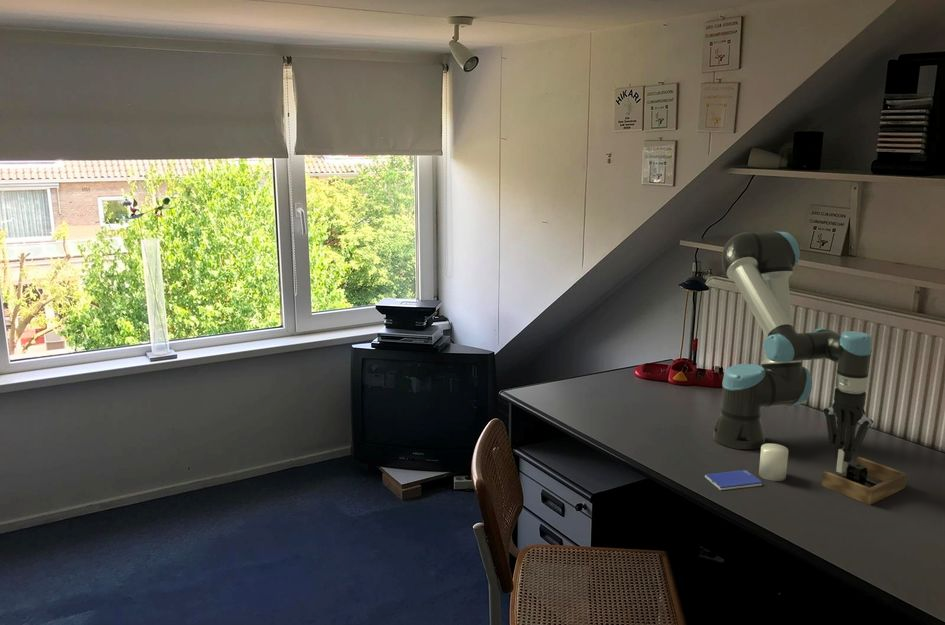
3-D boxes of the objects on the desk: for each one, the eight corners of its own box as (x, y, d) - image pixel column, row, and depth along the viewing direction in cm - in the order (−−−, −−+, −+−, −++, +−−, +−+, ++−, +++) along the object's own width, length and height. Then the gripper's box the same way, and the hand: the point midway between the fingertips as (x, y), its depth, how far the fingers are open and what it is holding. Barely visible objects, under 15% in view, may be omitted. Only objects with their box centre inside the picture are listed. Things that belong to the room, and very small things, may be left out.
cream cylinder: (753, 473, 209) (755, 447, 208) (768, 467, 213) (771, 441, 211) (775, 483, 204) (778, 455, 202) (791, 476, 208) (793, 449, 206)
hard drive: (745, 469, 210) (704, 473, 208) (762, 481, 202) (720, 486, 200) (744, 474, 211) (704, 478, 208) (761, 487, 203) (720, 492, 200)
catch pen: (821, 485, 202) (823, 472, 201) (857, 469, 211) (859, 456, 211) (870, 505, 191) (871, 490, 190) (905, 487, 201) (907, 473, 200)
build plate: (885, 488, 201) (887, 472, 200) (866, 494, 198) (868, 477, 197) (845, 469, 212) (847, 454, 211) (827, 474, 209) (828, 459, 208)
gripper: (819, 385, 204) (811, 466, 209) (866, 398, 193) (856, 483, 199) (835, 380, 208) (827, 459, 213) (882, 393, 197) (872, 476, 203)
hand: (841, 471), depth 206 cm, fingers closed
